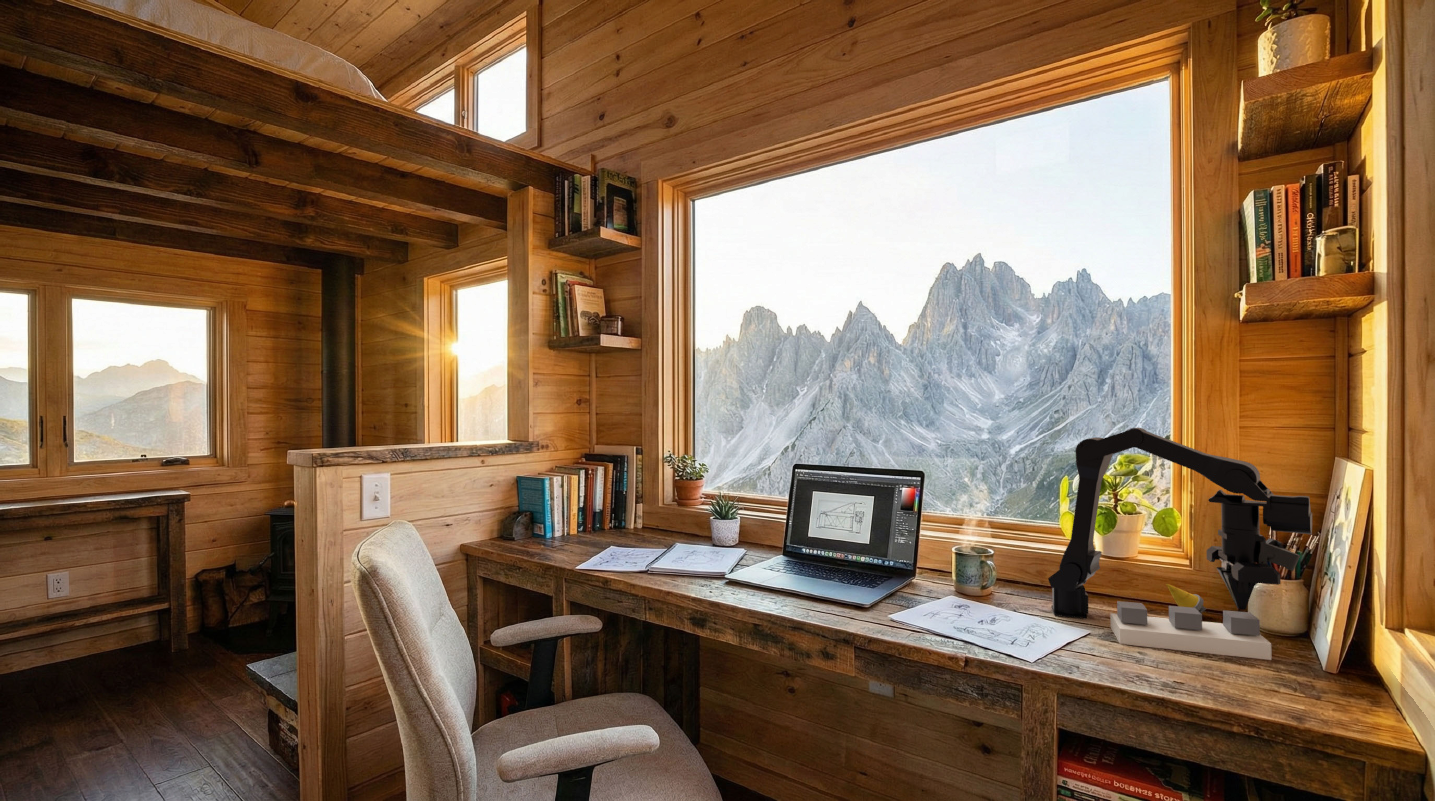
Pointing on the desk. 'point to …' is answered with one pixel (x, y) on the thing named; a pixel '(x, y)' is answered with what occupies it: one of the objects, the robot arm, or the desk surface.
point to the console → (1190, 638)
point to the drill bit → (1186, 599)
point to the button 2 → (1241, 623)
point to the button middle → (1185, 617)
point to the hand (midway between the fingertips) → (1241, 608)
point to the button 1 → (1132, 612)
